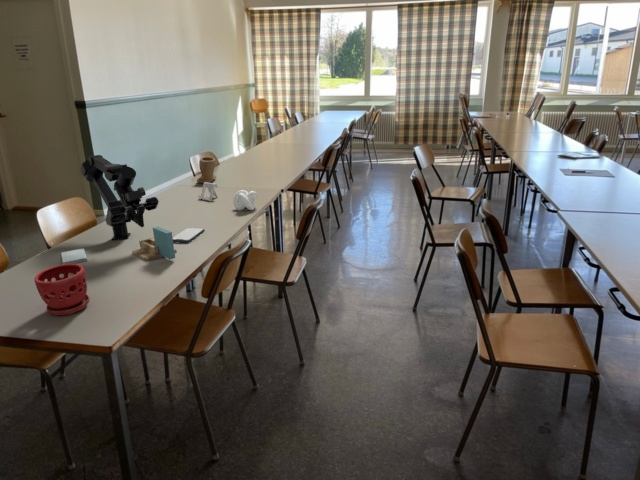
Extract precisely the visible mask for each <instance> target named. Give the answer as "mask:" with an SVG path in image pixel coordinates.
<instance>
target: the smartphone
mask: <svg viewBox="0 0 640 480" xmlns="http://www.w3.org/2000/svg"><path fill="white" fill-rule="evenodd" d="M204 232H205V228H199V227H198V228H196V227H194V228H193V227H186V228H185V229H183V230H182V231H180V232H178V233H177V234H175V236H172V238H173V242H179V243H178V244H189V242H190V243H192V242H193V241H194V240H195V239H197V238H198V237H199V236H200V234H201V235H202V234H203V233H204ZM196 237H197V238H196ZM192 240H193V241H192Z"/></svg>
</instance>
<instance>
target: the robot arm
mask: <svg viewBox="0 0 640 480" xmlns="http://www.w3.org/2000/svg"><path fill="white" fill-rule="evenodd" d="M79 170H80V173H81V175H82V176H83V177H84V178H85V180H86V181H87V182H90V183H92V184H93V186H94V187H95V188H96V190H97V192H98V194H99V196H100V197H101V199H102V201H103V202H104V204H105V205H106V207H107V211H106V217H105V223H106V225H107V226H109V227H111V229H112V234H113V236H112V237H111V240H112V241H113V240H114V241H115V240H127V239H129V237H130V236H131V235H132V234H131V232H129V231H128V226H127V223H131V221H132V222H134V223H135V224H136V225H138V226H139V227H140V228H144V227H145V221H144V213H145V211H148V212H149V211H153V210H156V209H157V208H158V205H159V203H160V201H159V199H158V198H157V197H156V196H152V197H148V198H146V199H145V201H144V202H142V199H143V197H144V196H146V190H145V189H144V187H138V188H137V190H133V188H132V186H133V184H134V181H135V178H136V176H137V172H136V170H135V169H134V168H133V167H131V166H128V165H127V164H126V163H125V164H119V163H112V162H111V161H109V160H108V159H106V158H104V156H103V155H102V154H97V155H95V154H94V155H90V156H89V157H88V158H87V160H85V161H83V162H82V164H81V165H80V169H79ZM106 180H107V181H108V182H110V183H111V182H114V184H113V190H112V189H111V187H110V185H109V184H108V182H107V181H106ZM113 191H115V192H116V194H117V195H118V198H119V200H118V198H117V197H116V195H115V194H114V192H113Z"/></svg>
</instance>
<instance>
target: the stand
mask: <svg viewBox="0 0 640 480" xmlns="http://www.w3.org/2000/svg"><path fill="white" fill-rule="evenodd" d="M139 247H140V248H138V249H135V250H131V252H132V253H131V254H132V255H135V256H136V257H138V258H140V259H143V260H144V261H147V262H150V261H152V260H156V259H160V258H163V257H162V255H160V254H159V252H158V247H156V246H155V239H154V237H153V238H152V237H150V238H146V239H143V240H139ZM174 252H175V253H177V252H178V251H177V248H174ZM159 257H160V258H159Z"/></svg>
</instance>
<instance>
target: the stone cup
mask: <svg viewBox="0 0 640 480" xmlns="http://www.w3.org/2000/svg"><path fill="white" fill-rule="evenodd" d="M198 161H199V162H198V163H199V165H198V166H199V170H200V171H199V172H200V174H201V176H200V177H198V178H197V179H196V182H197V183H203V184H204V182H208V183H212V182H213V181H215V179H216V178H217V175H215V174H214V172H215V168H216V159H215V158H214V157H212V156H202V157H200V159H199V160H198Z"/></svg>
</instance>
